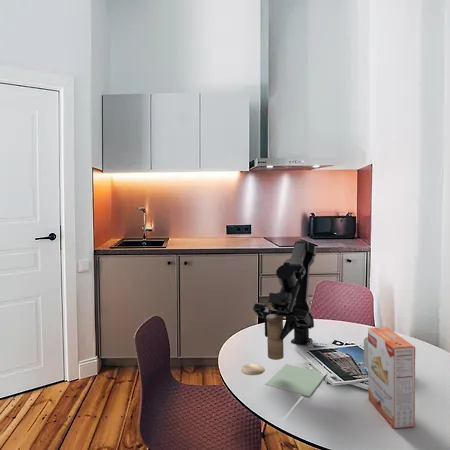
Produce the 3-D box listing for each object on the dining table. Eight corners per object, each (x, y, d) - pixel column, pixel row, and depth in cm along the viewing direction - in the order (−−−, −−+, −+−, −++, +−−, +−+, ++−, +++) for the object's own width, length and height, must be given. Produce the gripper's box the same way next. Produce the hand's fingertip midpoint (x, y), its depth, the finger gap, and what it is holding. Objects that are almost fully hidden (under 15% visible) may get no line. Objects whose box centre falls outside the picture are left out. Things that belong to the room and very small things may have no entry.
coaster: (247, 363, 134) (247, 362, 134) (268, 368, 130) (268, 367, 130) (236, 372, 128) (236, 371, 128) (257, 378, 124) (257, 377, 123)
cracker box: (366, 399, 109) (366, 327, 108) (387, 398, 110) (387, 325, 108) (392, 429, 96) (392, 347, 94) (415, 428, 96) (416, 345, 94)
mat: (286, 365, 132) (286, 363, 132) (326, 374, 125) (326, 373, 125) (265, 385, 119) (264, 384, 119) (309, 397, 111) (309, 396, 111)
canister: (271, 351, 128) (271, 313, 127) (287, 355, 125) (286, 315, 124) (264, 357, 124) (263, 317, 123) (279, 361, 121) (278, 320, 120)
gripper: (254, 279, 131) (238, 320, 123) (307, 285, 120) (293, 331, 112) (266, 296, 138) (251, 336, 130) (316, 303, 128) (304, 348, 120)
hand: (273, 337), depth 123 cm, fingers closed on canister, 5 cm apart
